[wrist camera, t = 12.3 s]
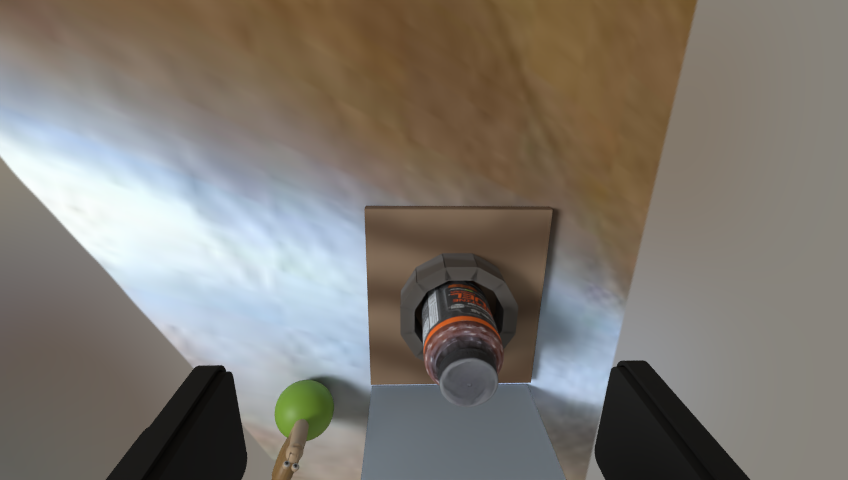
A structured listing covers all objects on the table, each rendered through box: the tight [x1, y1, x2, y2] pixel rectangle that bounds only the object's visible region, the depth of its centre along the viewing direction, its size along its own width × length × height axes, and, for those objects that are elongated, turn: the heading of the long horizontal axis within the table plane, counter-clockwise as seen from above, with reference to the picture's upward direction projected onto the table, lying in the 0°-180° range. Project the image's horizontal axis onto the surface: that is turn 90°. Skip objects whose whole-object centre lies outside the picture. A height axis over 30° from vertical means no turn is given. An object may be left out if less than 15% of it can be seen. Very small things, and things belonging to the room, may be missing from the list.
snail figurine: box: [272, 380, 334, 480], centre depth 36 cm, size 5×6×12 cm
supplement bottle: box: [422, 281, 504, 407], centre depth 32 cm, size 6×6×11 cm
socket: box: [365, 206, 553, 385], centre depth 37 cm, size 18×16×4 cm
